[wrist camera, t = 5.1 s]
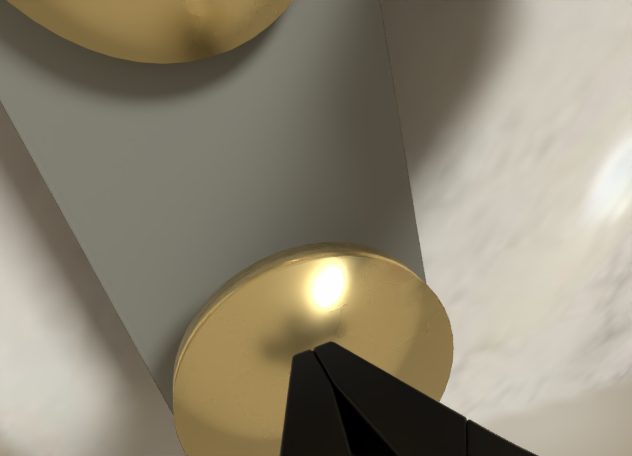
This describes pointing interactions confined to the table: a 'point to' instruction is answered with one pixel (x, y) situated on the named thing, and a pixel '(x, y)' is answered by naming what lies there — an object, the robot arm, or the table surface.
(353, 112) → the panel
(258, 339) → the knob
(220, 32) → the knob
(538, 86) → the table surface
